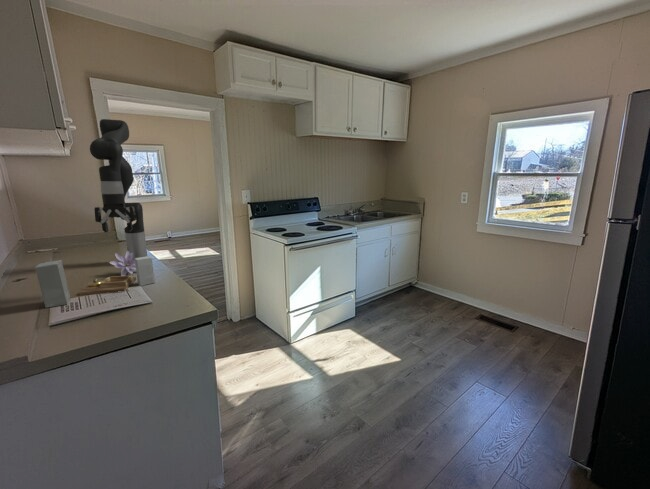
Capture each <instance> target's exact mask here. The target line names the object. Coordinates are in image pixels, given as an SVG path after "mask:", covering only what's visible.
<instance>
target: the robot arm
mask: <svg viewBox="0 0 650 489" xmlns="http://www.w3.org/2000/svg"><path fill="white" fill-rule="evenodd" d="M99 129H100V134H101V137H100V138H97V139H94V140H93V141H92V142H91V143H90V145H89V152H90V155H91V156H92V158H95V159H97V160H101V161H103V160H104V161H106V160H108V165H102V166H99V168H98V173H99V179H100V193H101V198H102V200H101V201H102V207H100V206H95V207H94V218H95V220H94V221H95V222H96V223H100V224H101V228H102V232H104V233H109V225H108V220H109V219H110V218H111V219H112V218H120V219H121V220H123V221H125V222H126V226H125V227H124V230H123V231H124V236H125V243H126V249H127V250H126V252H127V251H129V252H130V254H131V253H133V258H132V260H131V261H133V260H135V258H139V257H146V256H148V249H147V243H146V242H147V241H146V232H145V224H144V213H143V211H144V209H143V204H141V203H140V202H126V201H125V199H126V196H127V193H128V191H129V190H130V188H131V186H132V184H133V183H134V180H135V179H134V172H133V169H132V166H131V164H130V163H129V161H128V160H127V159H126V158H125V157H124V156H123V153H124V150H123V149H124V148H123V147H122V144H124V143H126V142H127V141H128V140H129V139H130V129H129V126H128V123H127V122H126V121H124V120H121V119H109V118H108V119H107V118H102V119H100V120H99ZM102 212H104V213H105V214H104V215H103V217H102Z"/></svg>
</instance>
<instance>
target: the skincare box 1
mask: <svg viewBox="0 0 650 489" xmlns="http://www.w3.org/2000/svg"><path fill="white" fill-rule="evenodd" d="M63 264H64V263H63V260H62V259H60V260H53V261H43V262H40V263H39V264H37V265H36V266H35V267H34V270H35V272H36V277H37V280H38V285H39V288H40V292H41V295H42V299H43V303H44V307H45V308H53V307H58V306H59V307H60V306H66V305H65V304H67V305H68V303H69V301H70V300H71V294H70V290H69V286H68V282H67V277H66V272H65V269H64V265H63Z"/></svg>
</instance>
